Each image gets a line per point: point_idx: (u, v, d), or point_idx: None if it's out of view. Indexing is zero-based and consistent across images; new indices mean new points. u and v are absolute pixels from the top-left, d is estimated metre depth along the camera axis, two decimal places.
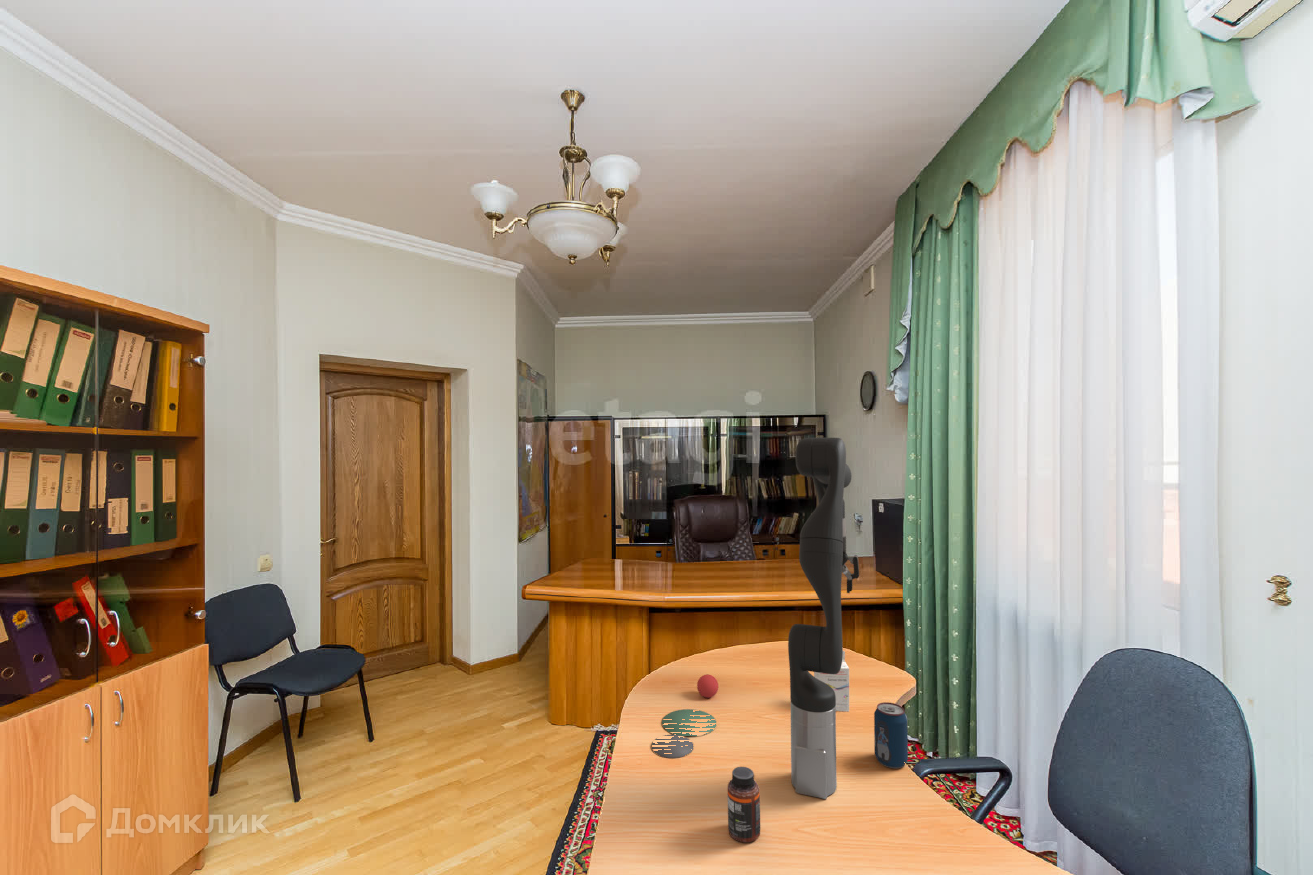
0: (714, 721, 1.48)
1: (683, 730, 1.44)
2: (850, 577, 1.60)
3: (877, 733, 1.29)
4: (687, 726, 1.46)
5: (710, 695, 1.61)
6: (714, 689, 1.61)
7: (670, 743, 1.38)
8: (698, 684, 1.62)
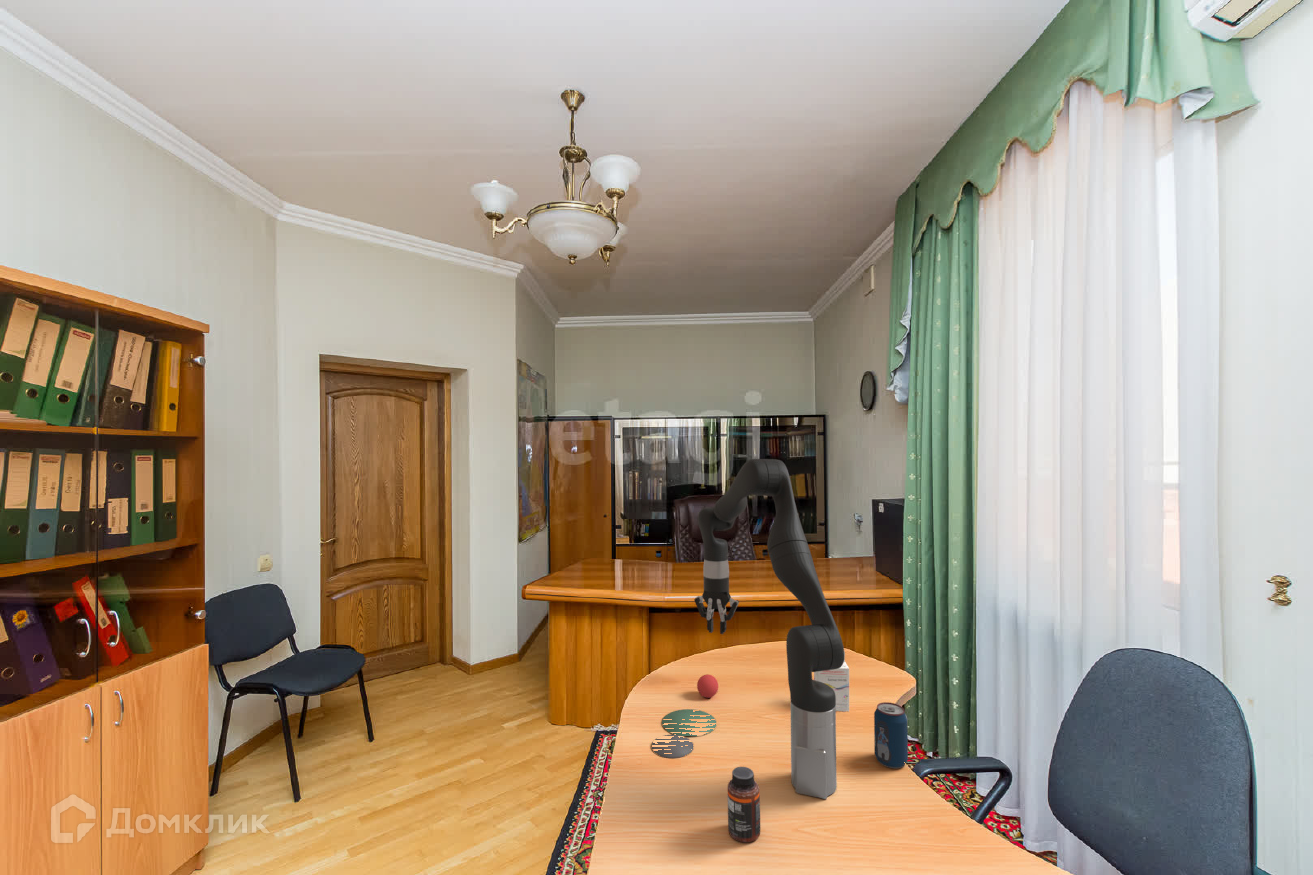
0: (714, 721, 1.48)
1: (683, 730, 1.44)
2: (723, 619, 1.70)
3: (877, 733, 1.29)
4: (687, 726, 1.46)
5: (710, 695, 1.61)
6: (714, 689, 1.61)
7: (670, 743, 1.38)
8: (698, 684, 1.62)
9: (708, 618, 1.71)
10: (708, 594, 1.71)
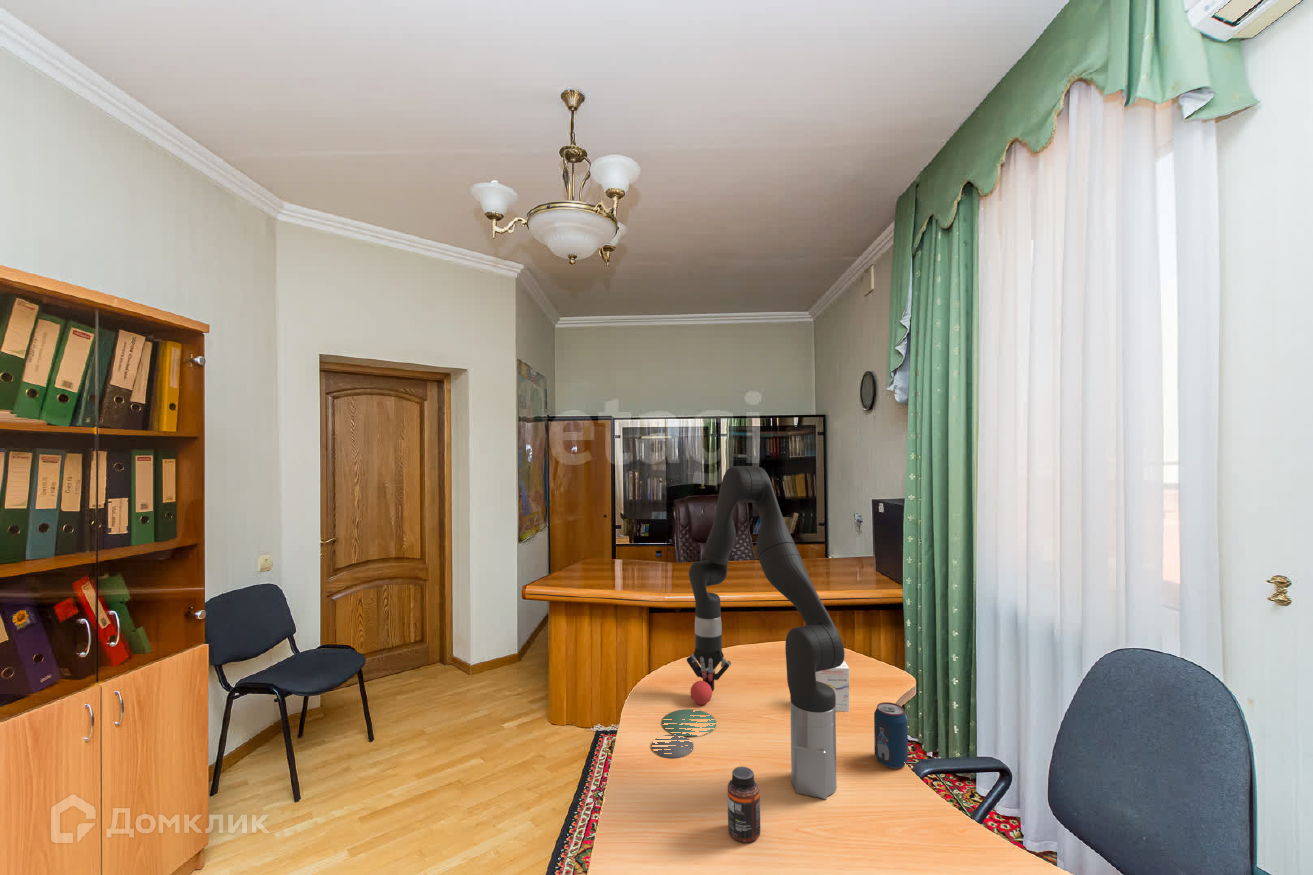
0: (714, 721, 1.48)
1: (683, 730, 1.44)
2: (710, 678, 1.61)
3: (877, 733, 1.29)
4: (687, 726, 1.46)
5: None
6: (709, 699, 1.57)
7: (670, 743, 1.38)
8: None
9: (704, 678, 1.61)
10: (700, 652, 1.62)
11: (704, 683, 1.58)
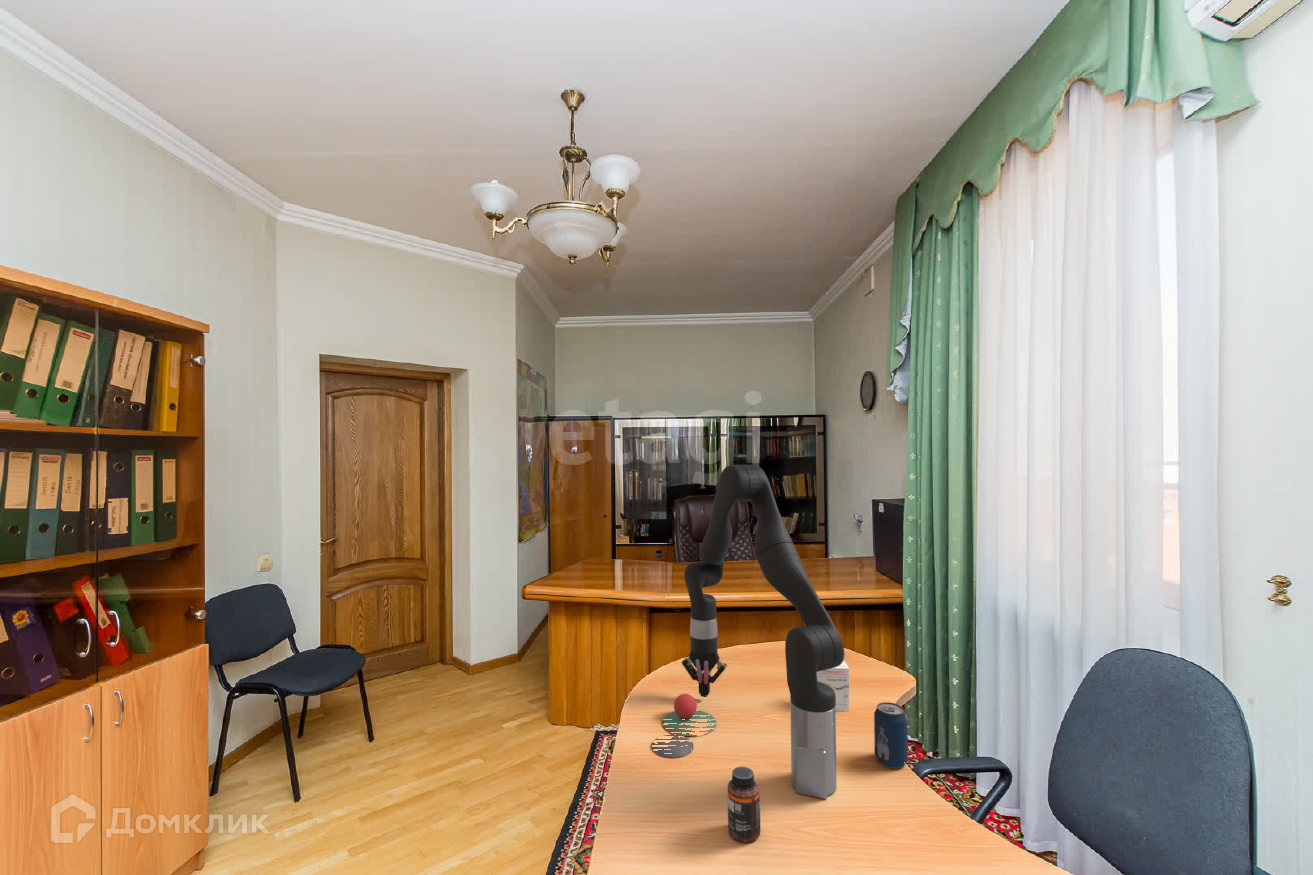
0: (714, 721, 1.48)
1: (683, 730, 1.44)
2: (706, 681, 1.59)
3: (877, 733, 1.29)
4: (687, 726, 1.46)
5: (689, 699, 1.50)
6: (695, 703, 1.50)
7: (670, 743, 1.38)
8: None
9: (700, 681, 1.59)
10: (695, 654, 1.60)
11: None
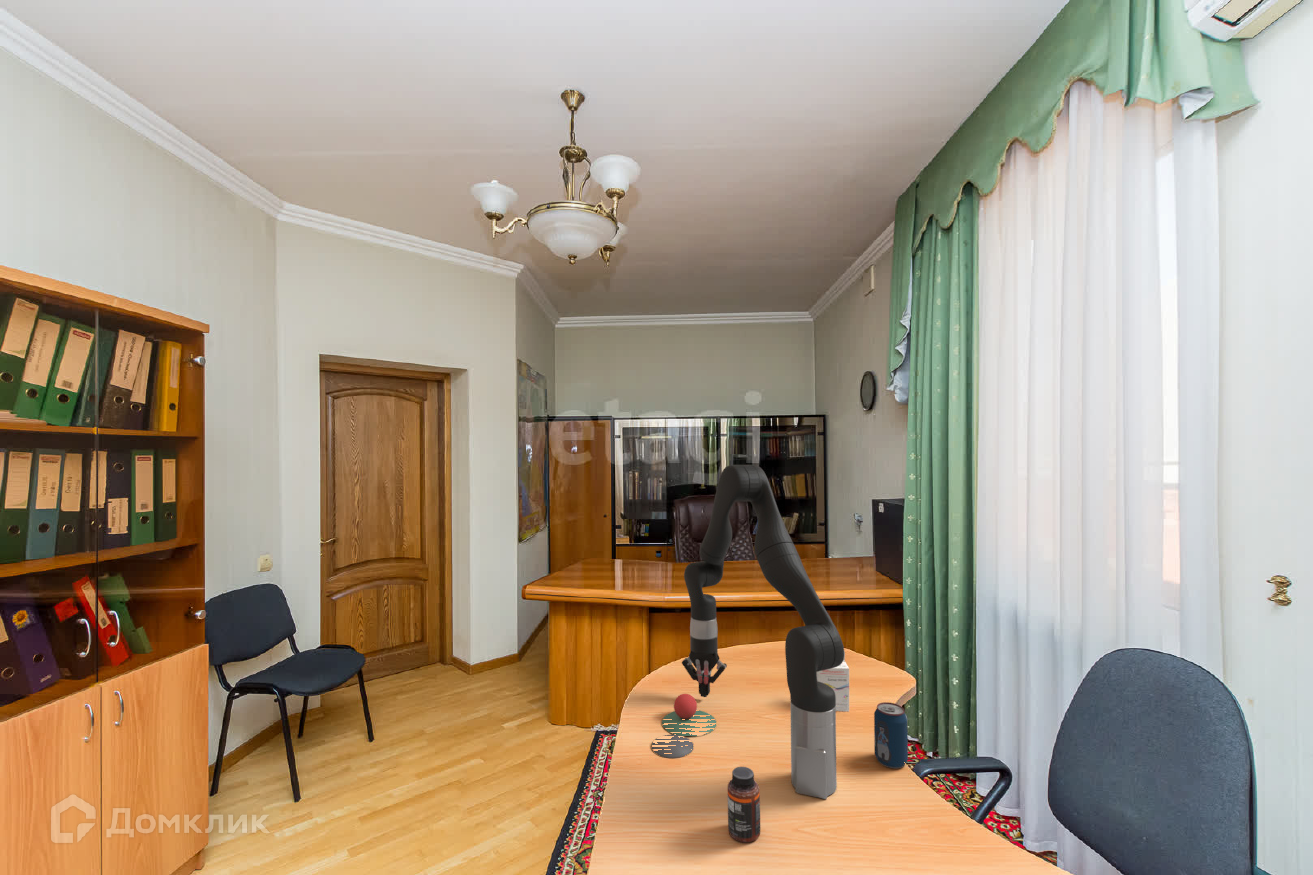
0: (714, 721, 1.48)
1: (683, 730, 1.44)
2: (706, 681, 1.59)
3: (877, 733, 1.29)
4: (687, 726, 1.46)
5: (689, 699, 1.50)
6: (695, 703, 1.50)
7: (670, 743, 1.38)
8: None
9: (700, 681, 1.59)
10: (695, 654, 1.60)
11: None
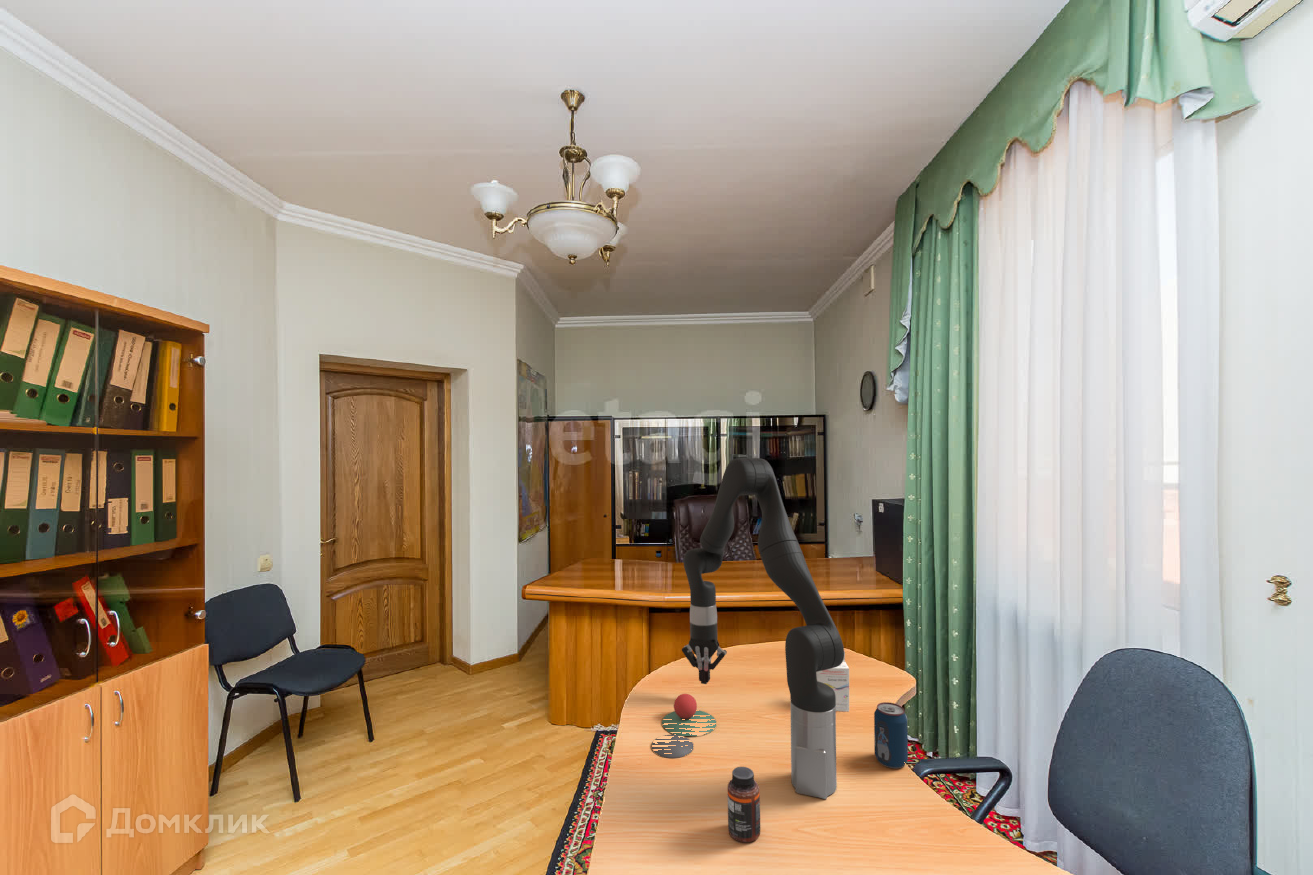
0: (714, 721, 1.48)
1: (683, 730, 1.44)
2: (706, 668, 1.58)
3: (877, 733, 1.29)
4: (687, 726, 1.46)
5: (689, 699, 1.50)
6: (695, 703, 1.50)
7: (670, 743, 1.38)
8: None
9: (700, 668, 1.59)
10: (695, 641, 1.60)
11: None
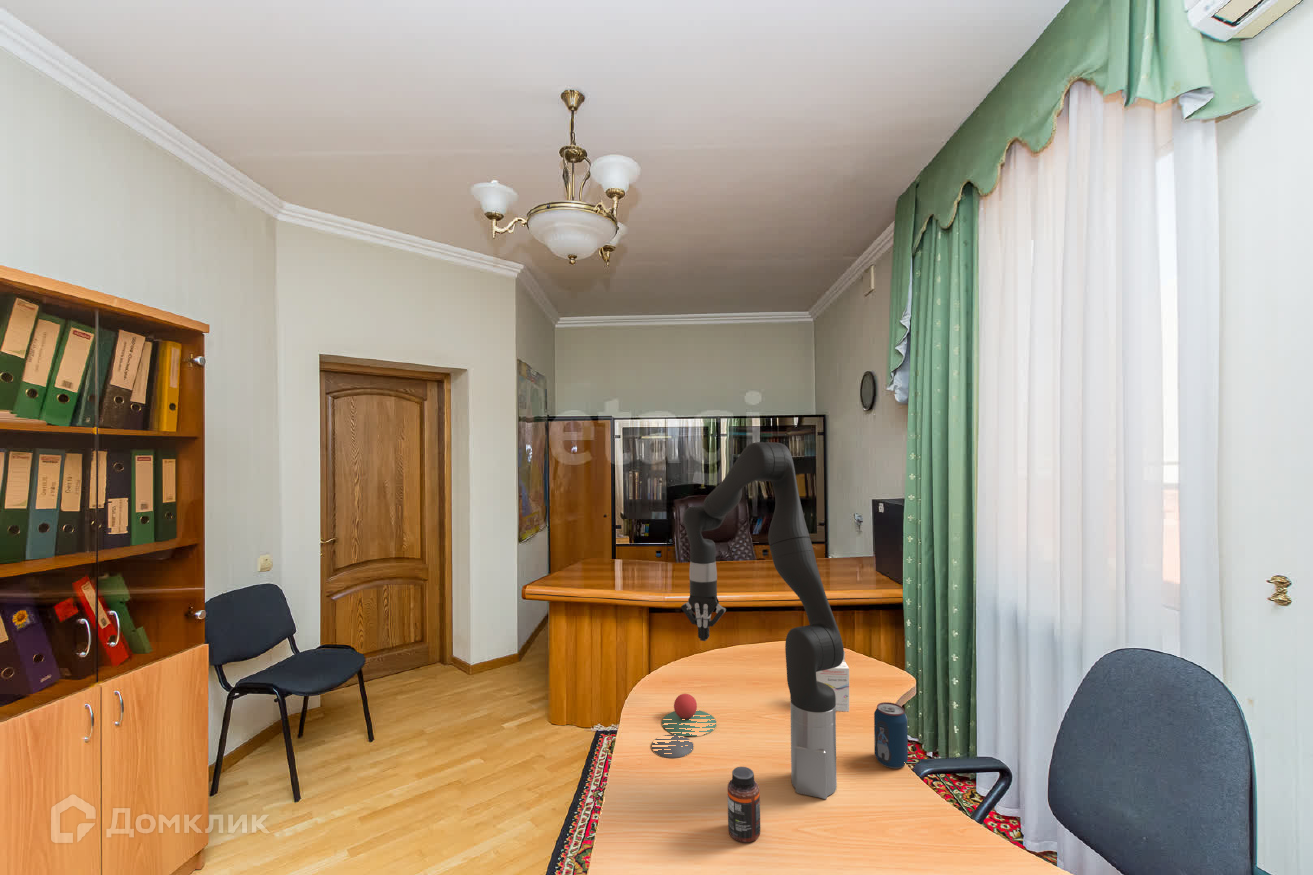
0: (714, 721, 1.48)
1: (683, 730, 1.44)
2: (705, 625, 1.59)
3: (877, 733, 1.29)
4: (687, 726, 1.46)
5: (689, 699, 1.50)
6: (695, 703, 1.50)
7: (670, 743, 1.38)
8: None
9: (699, 625, 1.59)
10: (694, 599, 1.60)
11: None
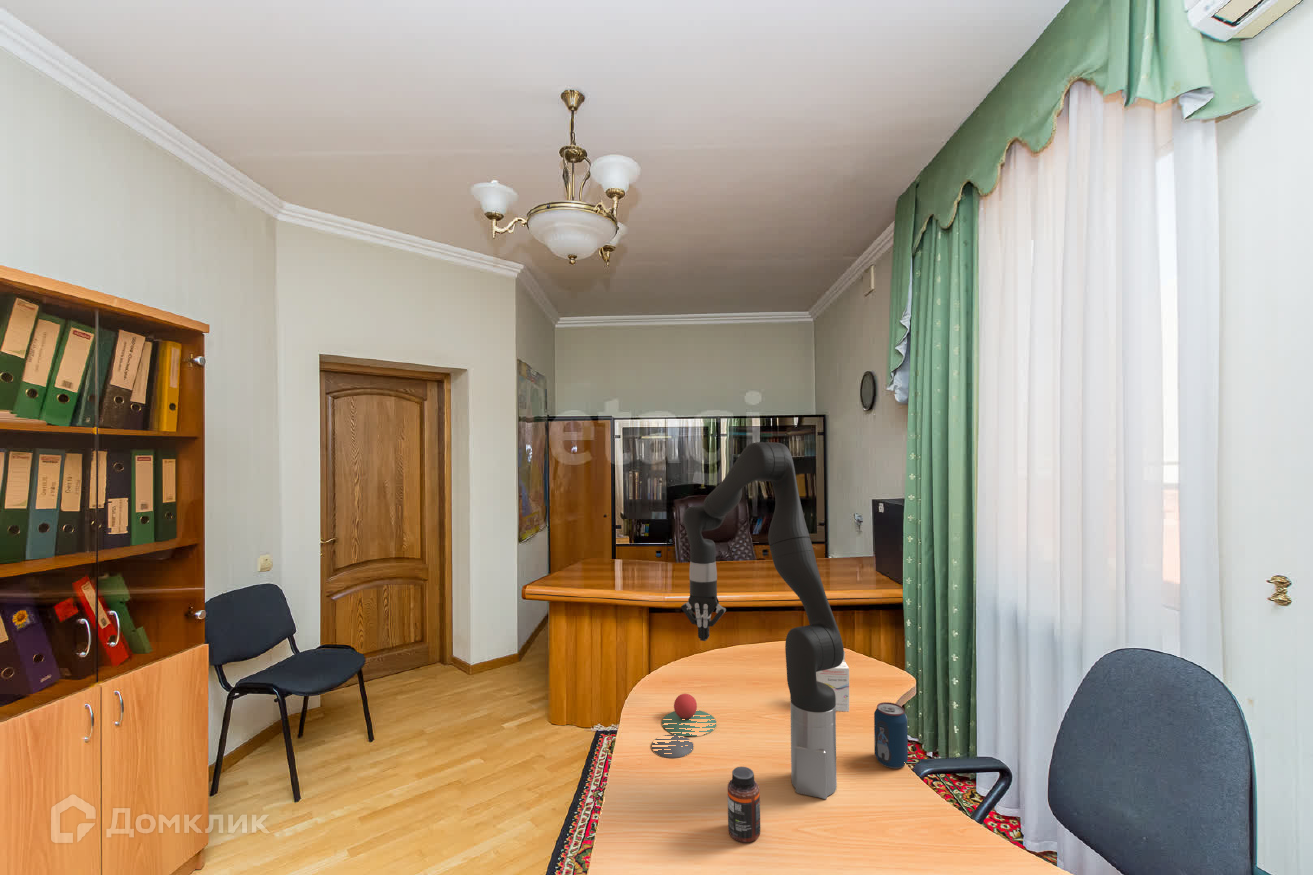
0: (714, 721, 1.48)
1: (683, 730, 1.44)
2: (705, 625, 1.59)
3: (877, 733, 1.29)
4: (687, 726, 1.46)
5: (689, 699, 1.50)
6: (695, 703, 1.50)
7: (670, 743, 1.38)
8: None
9: (699, 625, 1.59)
10: (694, 598, 1.60)
11: None
